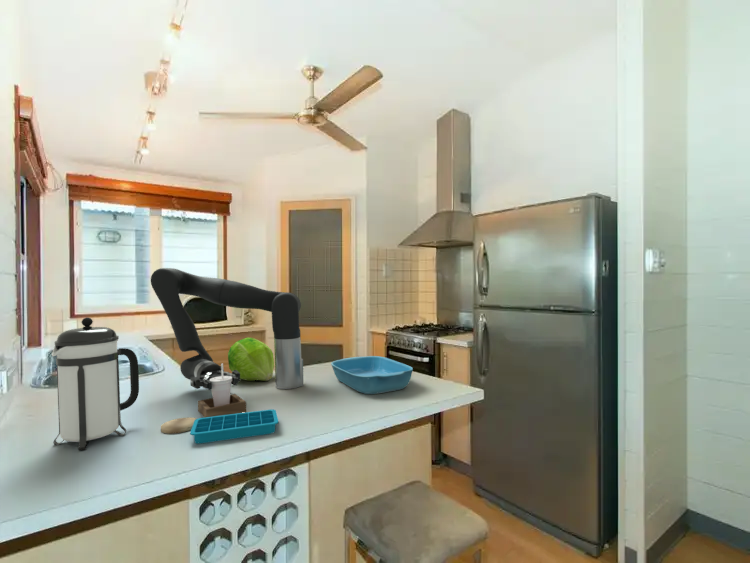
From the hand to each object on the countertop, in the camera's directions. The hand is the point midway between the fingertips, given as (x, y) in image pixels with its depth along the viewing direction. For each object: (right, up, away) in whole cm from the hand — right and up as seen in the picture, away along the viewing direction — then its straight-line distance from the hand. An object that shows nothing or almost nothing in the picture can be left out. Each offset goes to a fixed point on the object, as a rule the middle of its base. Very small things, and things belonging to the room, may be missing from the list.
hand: (223, 383), depth 117 cm
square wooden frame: (-1, -9, +2) cm, 9 cm away
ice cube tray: (+9, -9, -14) cm, 19 cm away
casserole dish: (+42, -8, +29) cm, 52 cm away
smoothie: (-1, -9, +2) cm, 9 cm away
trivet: (-8, -9, -10) cm, 15 cm away
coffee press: (-26, -10, -16) cm, 32 cm away
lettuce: (-4, -9, +40) cm, 41 cm away
